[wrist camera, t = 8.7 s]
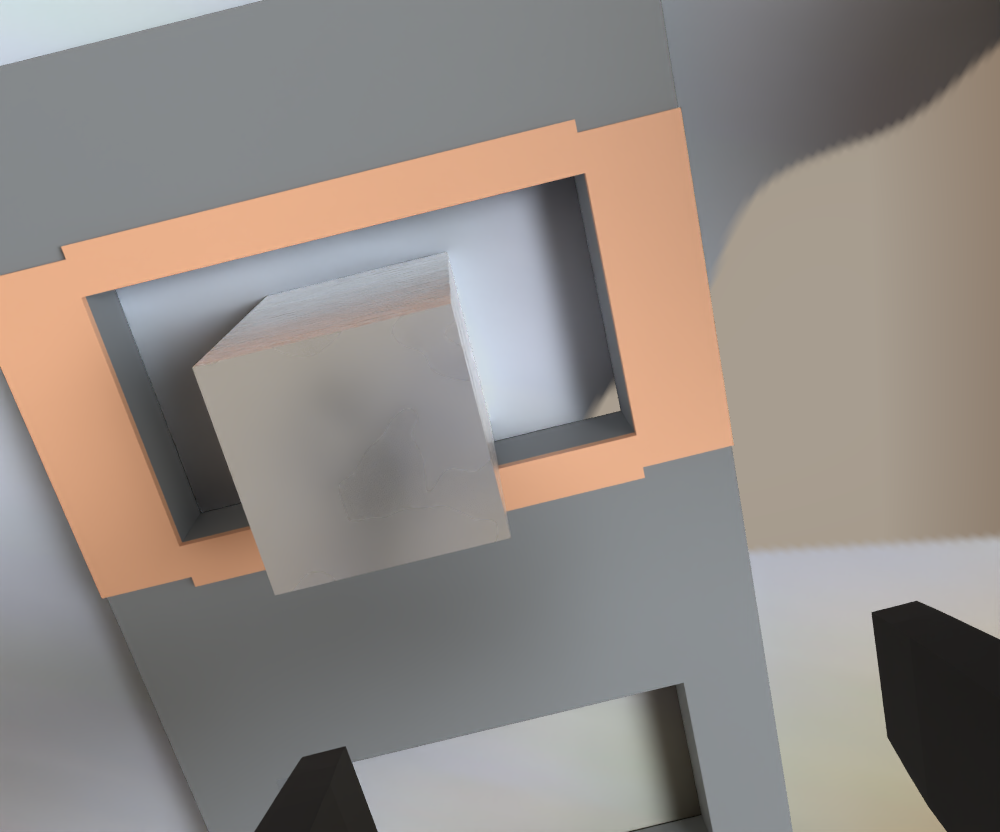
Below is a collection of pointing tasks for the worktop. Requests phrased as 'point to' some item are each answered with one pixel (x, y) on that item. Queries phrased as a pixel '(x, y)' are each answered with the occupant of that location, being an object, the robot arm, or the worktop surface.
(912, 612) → the robot arm
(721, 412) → the rail plate
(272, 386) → the block
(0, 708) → the worktop surface
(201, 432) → the worktop surface
